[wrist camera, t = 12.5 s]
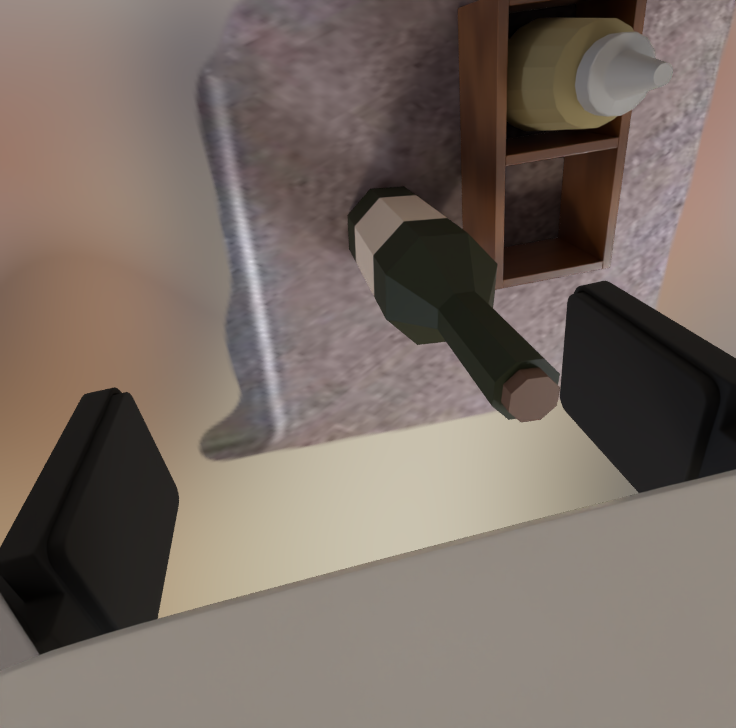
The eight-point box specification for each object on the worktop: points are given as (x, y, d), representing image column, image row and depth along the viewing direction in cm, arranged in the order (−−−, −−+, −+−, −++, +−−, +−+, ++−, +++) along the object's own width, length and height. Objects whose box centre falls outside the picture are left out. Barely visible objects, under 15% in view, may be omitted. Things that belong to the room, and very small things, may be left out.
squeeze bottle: (515, -2, 40) (671, -54, 25) (581, 60, 43) (757, 47, 28) (458, 95, 43) (567, 102, 28) (524, 146, 46) (655, 178, 31)
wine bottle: (362, 170, 45) (499, 289, 19) (443, 201, 47) (657, 341, 22) (333, 256, 48) (414, 456, 22) (409, 280, 51) (561, 483, 25)
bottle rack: (457, 8, 40) (498, -8, 33) (586, -9, 41) (650, -27, 34) (463, 262, 51) (494, 290, 44) (564, 243, 52) (610, 267, 45)
